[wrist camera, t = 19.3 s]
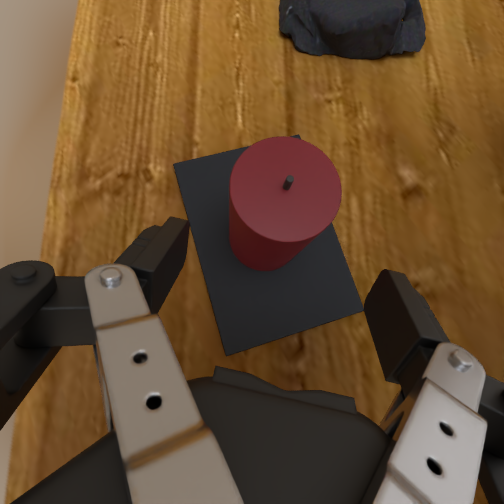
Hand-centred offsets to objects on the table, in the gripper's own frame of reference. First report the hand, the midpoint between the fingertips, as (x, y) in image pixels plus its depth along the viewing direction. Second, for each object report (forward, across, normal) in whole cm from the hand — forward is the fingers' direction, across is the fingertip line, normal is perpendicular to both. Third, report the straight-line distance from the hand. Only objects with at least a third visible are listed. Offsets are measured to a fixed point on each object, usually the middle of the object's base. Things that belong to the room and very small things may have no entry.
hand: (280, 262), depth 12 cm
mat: (+12, 0, +6) cm, 14 cm away
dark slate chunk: (+35, -2, -16) cm, 39 cm away
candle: (+12, 0, +6) cm, 13 cm away
